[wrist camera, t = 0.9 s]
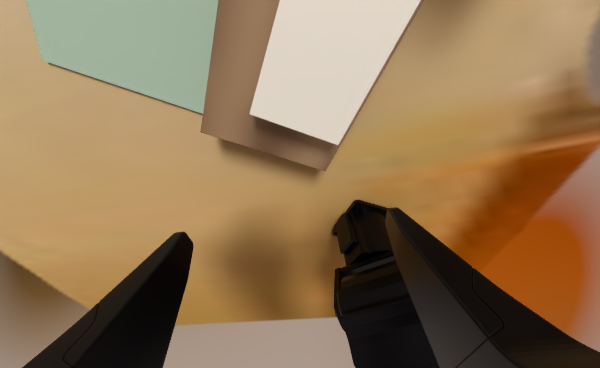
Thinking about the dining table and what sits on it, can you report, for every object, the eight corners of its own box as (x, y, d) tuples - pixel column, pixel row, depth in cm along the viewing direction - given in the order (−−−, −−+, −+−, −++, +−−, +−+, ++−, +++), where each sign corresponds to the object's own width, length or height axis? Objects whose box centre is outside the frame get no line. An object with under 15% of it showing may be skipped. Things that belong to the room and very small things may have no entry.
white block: (415, -22, 11) (434, -25, 10) (333, 131, 17) (338, 145, 15) (305, -91, 10) (308, -107, 8) (253, 102, 15) (249, 114, 14)
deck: (441, -87, 13) (489, -113, 10) (320, 146, 22) (325, 171, 19) (269, -216, 10) (260, -307, 7) (214, 110, 20) (200, 132, 16)
